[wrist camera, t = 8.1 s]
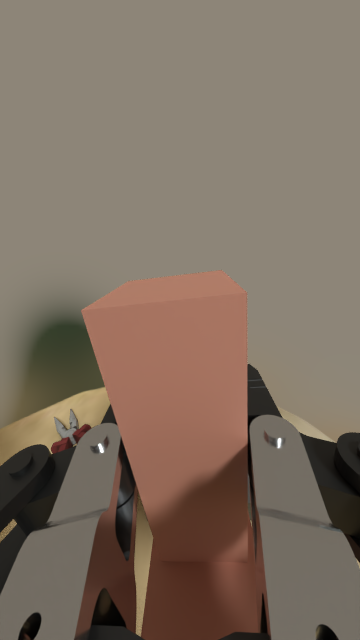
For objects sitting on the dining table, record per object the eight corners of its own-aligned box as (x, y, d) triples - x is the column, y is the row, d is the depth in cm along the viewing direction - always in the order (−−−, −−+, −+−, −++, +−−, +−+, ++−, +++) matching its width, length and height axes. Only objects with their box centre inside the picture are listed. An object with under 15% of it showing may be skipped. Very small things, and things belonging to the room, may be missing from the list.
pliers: (94, 401, 42) (91, 391, 41) (142, 477, 27) (138, 464, 26) (30, 438, 35) (23, 427, 34) (45, 565, 20) (35, 552, 19)
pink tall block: (160, 766, 7) (-221, 464, 1) (177, 472, 15) (137, 271, 10) (285, 780, 6) (516, 435, 1) (231, 471, 15) (221, 261, 9)
